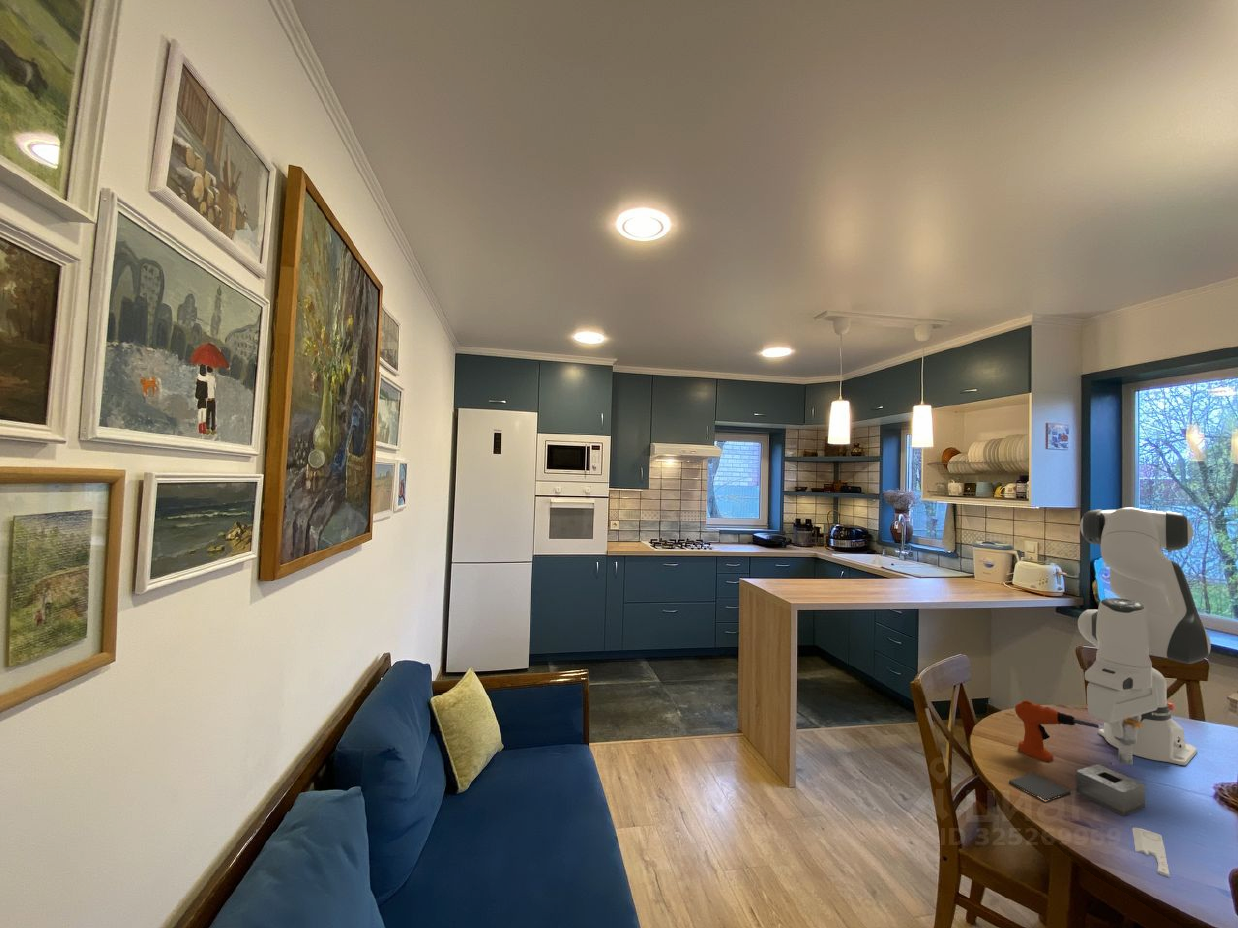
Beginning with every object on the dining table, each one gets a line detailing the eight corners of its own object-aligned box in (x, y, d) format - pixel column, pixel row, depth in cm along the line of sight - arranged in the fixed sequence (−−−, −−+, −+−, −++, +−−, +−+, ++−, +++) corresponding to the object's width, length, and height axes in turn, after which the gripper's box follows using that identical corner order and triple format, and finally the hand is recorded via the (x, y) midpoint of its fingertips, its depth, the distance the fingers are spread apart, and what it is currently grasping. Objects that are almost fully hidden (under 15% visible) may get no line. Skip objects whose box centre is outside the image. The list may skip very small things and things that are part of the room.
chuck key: (1114, 754, 115) (1113, 710, 115) (1146, 767, 110) (1145, 721, 110) (1105, 757, 114) (1104, 713, 114) (1137, 770, 108) (1136, 724, 109)
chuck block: (1097, 785, 127) (1097, 763, 127) (1145, 807, 118) (1144, 784, 118) (1076, 793, 123) (1076, 770, 124) (1123, 816, 115) (1123, 792, 115)
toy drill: (1105, 778, 127) (1093, 717, 129) (1016, 753, 143) (1007, 699, 145) (1110, 772, 130) (1099, 712, 132) (1022, 748, 145) (1014, 695, 147)
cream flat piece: (1133, 865, 101) (1132, 859, 101) (1129, 828, 112) (1129, 823, 112) (1170, 878, 97) (1169, 872, 97) (1162, 839, 108) (1162, 834, 108)
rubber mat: (1033, 775, 131) (1033, 772, 131) (1070, 793, 123) (1070, 790, 123) (1009, 782, 127) (1009, 780, 127) (1045, 801, 120) (1045, 799, 120)
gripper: (1131, 662, 119) (1132, 720, 118) (1079, 673, 112) (1080, 735, 111) (1167, 671, 113) (1169, 733, 112) (1115, 684, 106) (1117, 750, 105)
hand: (1124, 734), depth 112 cm, fingers closed on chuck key, 4 cm apart
